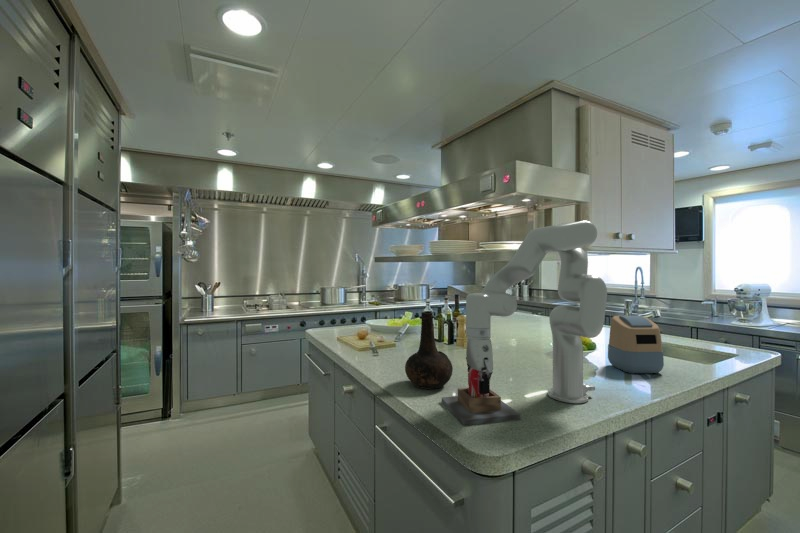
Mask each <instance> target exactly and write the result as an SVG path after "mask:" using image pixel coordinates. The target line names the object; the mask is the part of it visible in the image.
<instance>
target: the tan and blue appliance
mask: <svg viewBox="0 0 800 533" xmlns="http://www.w3.org/2000/svg"><path fill="white" fill-rule="evenodd" d="M607 359H608V362H609V363H610V365H611V366H612V367H615V368H616V369H618V370H620V369H621V371H622V370H623V372H625V373H627V372H628V373H627V374H631V373H636V374H653V373H656V374H658V373H660V372H661V371H663V369H664V366H665V364H664V363H665V362H664V361H665V360H664V351H663V344H662V335H661V330H660V326H659V325H658V324H656V323H655V322H653V320H651V319H650V318H647V317H646V316H643V315H642V316H641V315H614V316H612V318H611V322H610V328H609V337H608V346H607Z"/></svg>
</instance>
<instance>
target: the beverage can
mask: <svg viewBox="0 0 800 533" xmlns="http://www.w3.org/2000/svg"><path fill="white" fill-rule="evenodd" d="M481 370H485V368H483V369H481ZM468 373H469V385H468V388H469V395H470V396H471V397H472V398H478V397H488V396H489V393H488V394H480V393H479V380H480V375H479V371H477V370H475V369H474V368H472V367H471V368H470V370H469V372H468ZM482 374H483V376H484V374H486V372H485V373H482Z"/></svg>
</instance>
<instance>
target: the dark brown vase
mask: <svg viewBox="0 0 800 533" xmlns="http://www.w3.org/2000/svg"><path fill="white" fill-rule="evenodd" d="M419 319H421V324H420V328H421V329H420V341H419V347H418V350H417V352H415V353H413V354H412V355H410V356H409V357H408V359H407V360H406V362H405V366H404V371H405V374H406V377H407V379H408V380H409V381H410V382H411V383H412V384H413V385H415V386H416V387H418V388H421V389H427V390H428V389H429V390H430V389H431V390H432V389H433V390H434V389H438V388H441V387H444V386H445V385H446V384H447V383H448V382H449V381H450V380H451V377H452V375H453V370H454V369H453V364H452V361H451V360H450V358H449V357H448V355H447V354H446V353H444V352H443V351H440V350H438V349H437V345H436V340H435V333H434V319H435V316H434V313H433V311H422V312H421V315H420V316H419Z"/></svg>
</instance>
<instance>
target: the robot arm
mask: <svg viewBox="0 0 800 533" xmlns="http://www.w3.org/2000/svg"><path fill="white" fill-rule="evenodd" d="M597 237H598V230H597V227H596V226H595V224H594V223H592V222H591V221H590V220H580V221H572V222H566V223H565V222H564V223H560V224H556V225H555V224H554V225H549V226H548V225H547V226H541V227H537V228H533V229H531V230H530V231H529V232H528V233H527V235H526V236H525V237H524V240H523V241H522V242H521V244H520V245H519V247H518V248H517V250H516V251H515V253H514V255H513V256H512V258H511V259H510V260H509V262H508V263H506V265H504V266H503V267H501V268H500V269H499V270H498V271H497V272H496V273H495V274H493V275H492V276H491V277H490V278H489V280H488V281H487V282H486V284H485V286H484V287H483V288H482V290H481V292H479V293H478V292H473V293H469V294H467V295H466V297H465V310H466V311H465V317H466V318H465V323H466V324H465V329H466V330H465V335H466V336H465V337H466V349H465V350H466V352H465V353H466V354H465V355H466V356H465V359H466V365H467V385H468V386H469V370H470V368H471V367H472V368H474V369H475V370H477V371H479V375H480V380H479V393H480V394H488V393H490V390H491V389H490V386H491V385H490V383H491V382H490V381H491V377H492V374H493V372H494V354H493V344H492V340H491V330H492V329H491V324H492V323H491V319H492V316H493V317H502V318H503V317H505V318H507V317H510V316H512V315H513V314H514V313H515V312H516V311H517V309H518V302H517V299H516V298H515V297H514V296H513V295H512V294H511V293H507V291H508V289H510V288H512V287H513V286H514V285H517V284H518V283H520V282H523V281H526V280H528V279H529V278H531V277H532V276H534V274H535V273H536V271H537V270H538V268H539V266H540V265H541V263H542V262H543V260H544V258H545V257H546V256H547V254H548V253H558V255H559V258H560V267H559V268H560V269H559V278H558V286H557V294H558V296H559V298H560V299H561V300H563V301H566V302H571V303H579V306H576V305H575V306H574V305H569V304H561V305H558V306H555V307H553V309H552V310H551V312H550V313H549V319H548V320H549V325H550V326H549V327H550V331H551V336H552V337H551V338H552V388H551V387H550V388H549V389H548V390H547V396H549V397H550V398H552V399H554V400H555V401H558V402H563V403H567V404H583V403H587V402H588V401H589V395H588V394H587V392H591V391H592V392H594V391H595V390H596V387H595V385H594V384H586V383H584V346H583V341H582V339H581V337H582V338H587V339H591V338H592V339H593V338H597V337H598V336H599V335H600V334H601V332H602V330H603V328H604V324H605V317H606V316H605V315H606V307H607V301H608V300H607V299H608V289H607V285H606V283H605V281H604V280H603V279H602V278H601V277H600V276H598V275H594V274H588V270H589V269H588V267H589V261H588V260H589V259H588V256H587V253H586V252H585V250H584V249H583V248H586V247H589V246H591V245H592V244H594V242H595V241H596V240H597ZM483 368H485V370H481V369H483ZM485 372H486V374H484V376H483V374H482V373H485Z"/></svg>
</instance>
